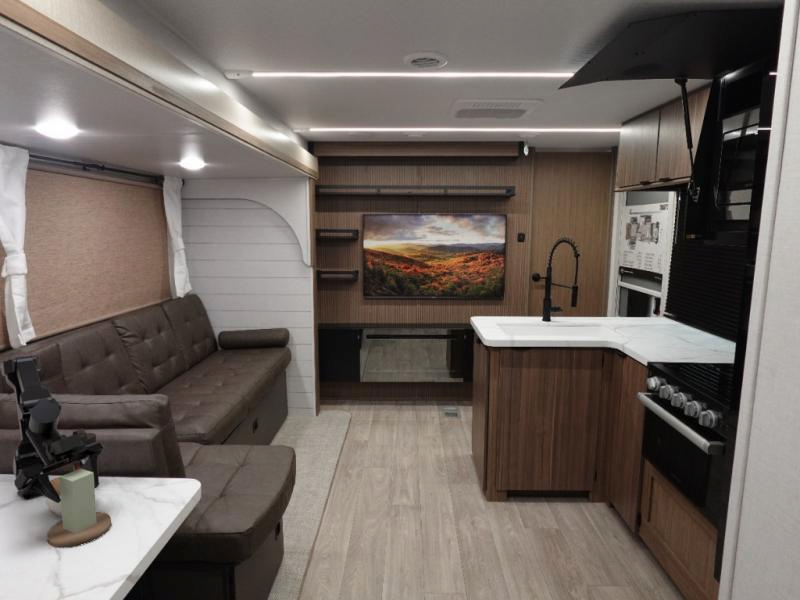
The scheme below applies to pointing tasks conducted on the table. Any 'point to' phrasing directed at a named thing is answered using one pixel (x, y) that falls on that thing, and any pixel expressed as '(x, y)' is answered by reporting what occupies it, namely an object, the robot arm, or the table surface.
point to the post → (78, 500)
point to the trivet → (69, 539)
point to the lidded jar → (52, 504)
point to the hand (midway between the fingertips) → (79, 493)
